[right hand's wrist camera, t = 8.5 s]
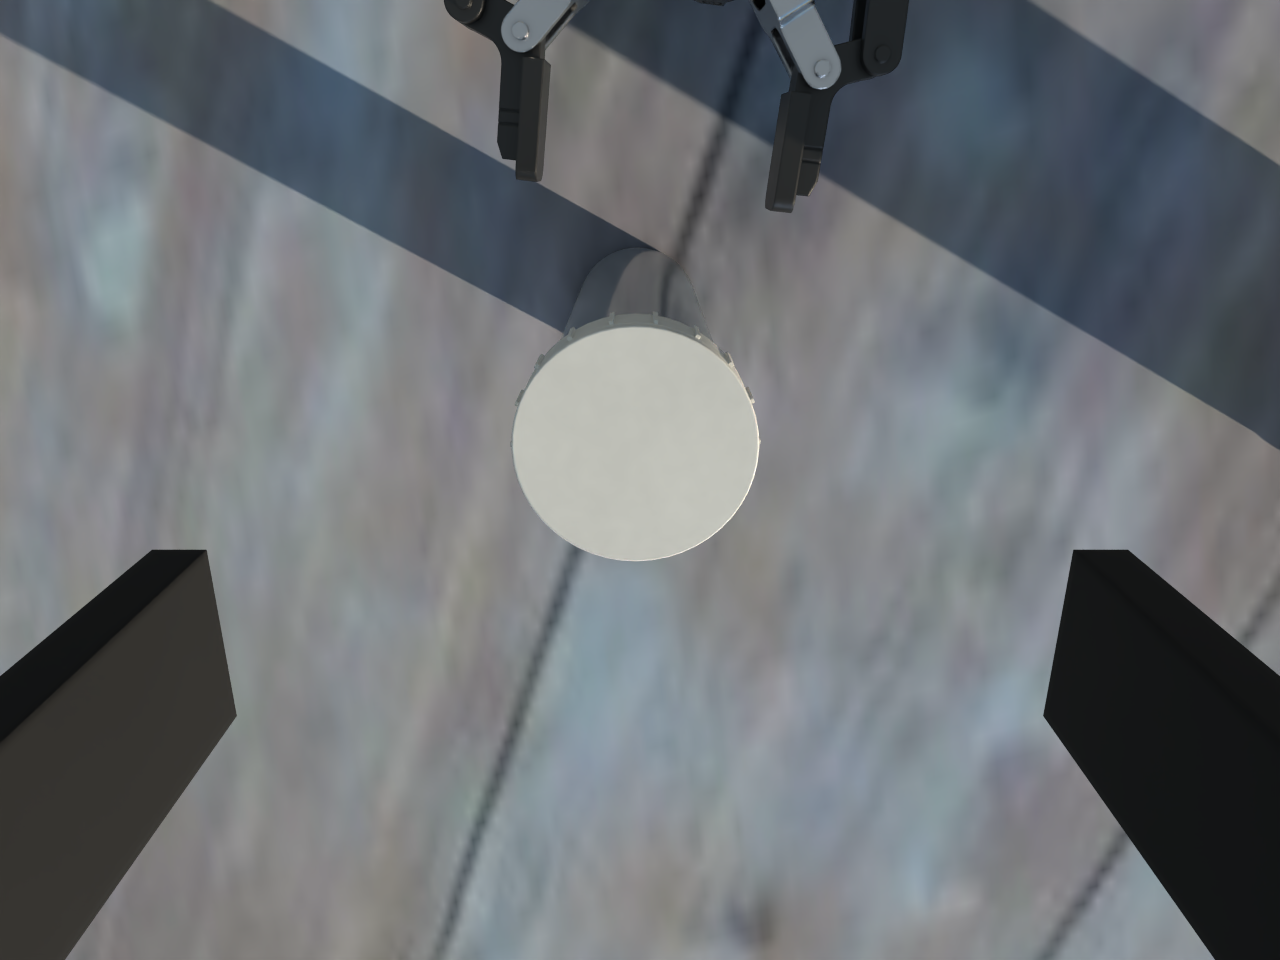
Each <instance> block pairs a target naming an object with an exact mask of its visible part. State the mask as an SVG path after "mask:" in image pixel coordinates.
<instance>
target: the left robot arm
mask: <svg viewBox="0 0 1280 960" xmlns="http://www.w3.org/2000/svg"><path fill="white" fill-rule="evenodd" d="M589 1H590V0H518V2H517V3H516V4H515V5H513V4H511V3H510V2H508V1H506V0H444V4H445V7H446V10H447V11H448V13H449V14H450V15H451V16H452V17H453V18H454V19H456V20H457V21H458V22H460V23H461V24H463V25H464V26H466V27H467V28H468V29H470V30H473V31H475V32H477V33H479V34H480V35H482V36H484V37H486V38H488V39H490V40H492V41H493V42H494V43H495V44H496V46H497V48H498V50H499V52H500V55H501V63H502V65H501V83H500V101H499V119H498V122H499V123H498V137H497V143H498V146H499V149H500V152H501V156H502V159H509V160H516V179H517V180H525V181H534V182H539V181H541V180H542V175H543V165H544V151H545V137H546V124H547V110H548V96H549V82H550V68H551V65H550V64H549V63H548V62H547V61H546V60H545V50H546V49H547V48H548V46H549V45H550V44H551V43H552V42H553V40H554V39H555V38H556V37H557V36H558V34H559V33H560V32H561V31H562V30H563V28H564V27H565V26H566V25H567V24H568V22H569V21H570V20H571V19H572V18H573V16H574V15H575V14H576V13H577V12H579V11H580V10H581V9H582V8H583V7H584V6H585V5H586V4H587V3H588V2H589ZM694 1H697V2H699V3H703V4H711V5H719V6H724V4H725V2H731V1H734V0H694ZM749 2H750V4H751V6H752V8H753V10H754V12H755V14H756V16H757V18H758V20H759V22H760V24H761V26H762V28H763V30H764V31H765V33H766V34H767V35H768V36H769V38H770V39H771V41H772V43H773V45H774V47H775V49H776V51H777V53H778V55H779V57H780V59H781V61H782V63H783V65H784V67H785V69H786V71H787V73H788V75H789V77H790V79H791V81H790V88H789V92H787V93H784V94H782V95H781V100H780V107H779V113H778V120H777V126H776V133H775V139H774V146H773V152H772V159H771V165H770V172H769V178H768V185H767V191H766V199H765V208H766V209H768V210H770V211H778V212H786V213H791V212H792V210H793V207H794V203H795V198H796V195H802V196H809V195H810V194H811V192H812V190H813V188H814V187H815V185H816V183H817V181H818V175H819V170H820V162H821V158H822V152H823V146H824V140H825V135H826V129H827V123H828V117H829V111H830V106H831V102H832V99H833V97H834V95H835V94H836V93H837V91H838V90H839V89H840V88H842V87H843V86H845V85H847V84H850V83H854V82H858V81H862V80H868V79H872V78H874V77H876V76H881V75H885V74H888V73H890V72H891V71H893V70H894V69H895V68H896V67H897V65H898V64H899V62H900V59H901V55H902V48H903V40H904V33H905V26H906V19H907V11H908V4H909V0H854V3H853V11H852V20H851V28H850V37H849V42H845V43H842V44H838V45H834V46H833V43H832V41H831V39H830V37H829V35H828V33H827V31H826V29H825V27H824V24H823V22H822V20H821V18H820V16H819V14H818V12H817V9H816V7H815V2H814V0H749Z"/></svg>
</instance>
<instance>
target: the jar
mask: <svg viewBox="0 0 1280 960" xmlns="http://www.w3.org/2000/svg"><path fill="white" fill-rule="evenodd" d="M612 312H614V313H615V315H622V314H650V315H653V312H658V316H661V317H666V318H669V319H672V320H675V321H678V322H681V323H683V324H685V325H687V326H689V327H691V328H693V326H694V325H695V326H697V327H698V329H699V332H700V333H701V334H703V335H704V336H706V337H707V338H708V339H710V340H711V341H712V342H713V340H712V337H711V335H710V332H709V329H708V327H707V324H706V321H705V319H704V316H703V313H702V311H701V308H700V305H699V303H698V300H697V297H696V295H695V292H694V289H693V287H692V284H691V282H690V280H689V278H688V276H687V275H686V273H685V272H684V270H683V269H682V268H681V267H680V266H679V264H677V263H676V262H675V261H674V260H673V259H671V258H670V257H668V256H667V255H665V254H663V253H661V252H659V251H656V250H653V249H648V248H639V247H635V248H626V249H622V250H619V251H616V252H613V253H611V254H609V255H607V256H606V257H604V258H603V259H602V260H600V261H599V262H598V263H597V264H596V265H595V266H594V267H593V268H592V269H591V271H590V272H589V274H588V275H587V277H586V278H585V281H584V283H583V285H582V287H581V290H580V292H579V295H578V297H577V300H576V302H575V305H574V307H573V310H572V312H571V314H570V317H569V319H568V322H567V324H566V327H565V329H564V332H563V334H562V337H561V339H562V338H564V337H565V336H567V335H568V333H569V331H570V329H571V328H572V327H574V328H575V329H578V328H580V327H582V326H584V325H586V324H587V323H590V322H593V321H596V320H599V319H601V318H605V317H609V316H610V313H612ZM561 339H560V340H561Z"/></svg>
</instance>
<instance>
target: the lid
mask: <svg viewBox="0 0 1280 960" xmlns="http://www.w3.org/2000/svg"><path fill="white" fill-rule="evenodd" d="M534 368H535V370H534V372H533V373H532V375H531V377H530V380H529V382H528V384H527V386H526V388H525V390H521V392H520V394H519V396H518V398H517V401H516V403H515V406H518V407H517V410H516V414H515V417H514V422H513V429H512V440H511V443H510V445H511V447H512V457H513V464H514V469H515V472H516V476H517V479H518V482H519V484H520V487H521V489H522V491H523V494H524V496H525V497H526V499H527V501H528V502H529V504H530V506H531V507H532V509H533V510H534V511H535V513H536V514H537V515H538V516H539V518H540V519H541V520H542V521H543V522H544V523H545V524H546V525H547V526H548V527H549V528H550V529H551V530H552V531H554V532H555V533H556V534H558V535H559V536H560V537H561V538H563V539H564V540H566V541H567V542H569V543H571V544H573V545H574V546H576V547H578V548H580V549H582V550H585V551H587V552H589V553H592V554H595V555H599V556H602V557H605V558H611V559H617V560H625V561H645V560H655V559H660V558H665V557H669V556H672V555H675V554H679V553H682V552H684V551H686V550H688V549H691V548H693V547H695V546H697V545H698V544H700V543H702V542H703V541H705V540H706V539H708V538H710V537H711V536H712V535H713V534H715V533H716V532H717V531H718V530H720V529H721V528H722V527H723V526H724V525H725V524H726V523H727V522H728V521H729V520H730V519H731V517H732V516H733V515H734V514H735V512H736V511H737V509H738V508H739V507H740V505H741V504H742V502H743V500H744V498H745V497H746V495H747V493H748V491H749V489H750V486H751V483H752V481H753V478H754V475H755V471H756V467H757V462H758V453H759V444H760V438H759V432H758V426H757V420H756V415H755V412H754V409H753V406H752V403H755V402H754V399H753V396H752V394H751V392H750V390H749V388H748V387H746V388H745V386H744V384H743V382H742V380H741V378H740V376H739V374H738V372H737V370H736V369H735V367H734V363H733V361H732V359H731V356H730V354H729V353H728V352H726V353H725V354H724V353H723V352H722V350H721V349H720V348H719V347H718V346H717V345H715V344H714V343H713V342H712V341H711V340H710V339H708V338H707V337H706V336H704V335H703V334H701V333H700V332H699V329H698V327H697V326H695V325H694V326H693V328H691V327H689V326H687V325H685V324H683V323H681V322H678V321H675V320H672V319H669V318H666V317H661V316H658V312H653V315H650V314H622V315H615V313H614V312H612V313H610V316H609V317H605V318H601V319H599V320H596V321H593V322H590V323H587V324H586V325H584V326H582V327H580V328H578V329H575V328H574V327H572V328H571V329H570V331H569V333H568V335H567V336H565V337H564V338H562V339H561V340H560V341H559V342H558V343H557V344H555V345H554V346H553V347H552V348H551V349H550V350H549V351H548V352H547V354H546V355H545V356H544V355H542V354H541V355H540V356H539V358H538V360H537V362H536V365H535V367H534Z"/></svg>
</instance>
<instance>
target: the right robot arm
mask: <svg viewBox="0 0 1280 960" xmlns="http://www.w3.org/2000/svg"><path fill="white" fill-rule="evenodd" d="M236 716H237V715H236V709H235V704H234V698H233V693H232V687H231V682H230V676H229V671H228V665H227V660H226V654H225V649H224V643H223V638H222V632H221V627H220V621H219V616H218V610H217V605H216V599H215V594H214V588H213V583H212V577H211V572H210V566H209V561H208V555H207V550H151V551H150V552H149V553H148V554H146V555H145V556H144V557H143V558H142V559H140V560H139V561H138V562H137V563H136V564H134V565H133V566H132V567H131V568H130V569H128V570H127V571H126V572H125V573H124V574H122V575H121V576H120V577H119V578H118V579H116V580H115V581H114V582H113V583H112V584H110V585H109V586H108V587H107V588H106V589H104V590H103V591H102V592H101V593H100V594H98V595H97V596H96V597H95V598H94V599H92V600H91V601H90V602H89V603H88V604H86V605H85V606H84V607H83V608H82V609H80V610H79V611H78V612H77V613H76V614H74V615H73V616H72V617H71V618H70V619H68V620H67V621H66V622H65V623H64V624H62V625H61V626H60V627H59V628H58V629H56V630H55V631H54V632H53V633H52V634H50V635H49V636H48V637H47V638H46V639H44V640H43V641H42V642H41V643H40V644H38V645H37V646H36V647H35V648H34V649H32V650H31V651H30V652H29V653H28V654H26V655H25V656H24V657H23V658H22V659H20V660H19V661H18V662H17V663H16V664H14V665H13V666H12V667H11V668H10V669H8V670H7V671H6V672H5V673H4V674H2V675H1V676H0V960H65V959H66V957H67V956H68V955H69V953H70V952H71V950H72V949H73V947H74V946H75V945H76V943H77V942H78V940H79V939H80V938H81V936H82V935H83V933H84V932H85V930H86V929H87V928H88V926H89V925H90V923H91V922H92V921H93V919H94V918H95V916H96V915H97V913H98V912H99V911H100V909H101V908H102V906H103V905H104V903H105V902H106V901H107V899H108V898H109V896H110V895H111V894H112V892H113V891H114V889H115V888H116V886H117V885H118V884H119V882H120V881H121V879H122V878H123V877H124V875H125V874H126V872H127V871H128V869H129V868H130V867H131V865H132V864H133V862H134V861H135V859H136V858H137V857H138V855H139V854H140V852H141V851H142V850H143V848H144V847H145V845H146V844H147V842H148V841H149V840H150V838H151V837H152V835H153V834H154V833H155V831H156V830H157V828H158V827H159V825H160V824H161V823H162V821H163V820H164V818H165V817H166V816H167V814H168V813H169V811H170V810H171V808H172V807H173V806H174V804H175V803H176V801H177V800H178V798H179V797H180V796H181V794H182V793H183V791H184V790H185V789H186V787H187V786H188V784H189V783H190V781H191V780H192V779H193V777H194V776H195V774H196V773H197V772H198V770H199V769H200V767H201V766H202V764H203V763H204V762H205V760H206V759H207V757H208V756H209V754H210V753H211V752H212V750H213V749H214V747H215V746H216V745H217V743H218V742H219V740H220V739H221V737H222V736H223V735H224V733H225V732H226V730H227V729H228V728H229V726H230V725H231V723H232V722H233V720H234V719H235V718H236ZM1043 716H1044V718H1045V719H1046V720H1047V722H1048V723H1049V725H1050V726H1051V728H1052V729H1053V730H1054V732H1055V733H1056V735H1057V736H1058V737H1059V739H1060V740H1061V742H1062V743H1063V745H1064V746H1065V747H1066V749H1067V750H1068V752H1069V753H1070V754H1071V756H1072V757H1073V759H1074V760H1075V762H1076V763H1077V764H1078V766H1079V767H1080V769H1081V770H1082V772H1083V773H1084V774H1085V776H1086V777H1087V779H1088V780H1089V781H1090V783H1091V784H1092V786H1093V787H1094V789H1095V790H1096V791H1097V793H1098V794H1099V796H1100V797H1101V798H1102V800H1103V801H1104V803H1105V804H1106V806H1107V807H1108V808H1109V810H1110V811H1111V813H1112V814H1113V816H1114V817H1115V818H1116V820H1117V821H1118V823H1119V824H1120V825H1121V827H1122V828H1123V830H1124V831H1125V833H1126V834H1127V835H1128V837H1129V838H1130V840H1131V841H1132V842H1133V844H1134V845H1135V847H1136V848H1137V850H1138V851H1139V852H1140V854H1141V855H1142V857H1143V858H1144V859H1145V861H1146V862H1147V864H1148V865H1149V867H1150V868H1151V869H1152V871H1153V872H1154V874H1155V875H1156V877H1157V878H1158V879H1159V881H1160V882H1161V884H1162V885H1163V886H1164V888H1165V889H1166V891H1167V892H1168V894H1169V895H1170V896H1171V898H1172V899H1173V901H1174V902H1175V903H1176V905H1177V906H1178V908H1179V909H1180V911H1181V912H1182V913H1183V915H1184V916H1185V918H1186V919H1187V921H1188V922H1189V923H1190V925H1191V926H1192V928H1193V929H1194V930H1195V932H1196V933H1197V935H1198V936H1199V938H1200V939H1201V940H1202V942H1203V943H1204V945H1205V946H1206V947H1207V949H1208V950H1209V952H1210V953H1211V955H1212V956H1213V957H1214V959H1215V960H1280V676H1279V675H1278V674H1276V673H1275V672H1274V671H1273V670H1272V669H1270V668H1269V667H1268V666H1267V665H1266V664H1264V663H1263V662H1262V661H1261V660H1260V659H1258V658H1257V657H1256V656H1255V655H1254V654H1252V653H1251V652H1250V651H1249V650H1248V649H1246V648H1245V647H1244V646H1243V645H1242V644H1240V643H1239V642H1238V641H1237V640H1236V639H1234V638H1233V637H1232V636H1231V635H1230V634H1228V633H1227V632H1226V631H1225V630H1224V629H1222V628H1221V627H1220V626H1219V625H1218V624H1216V623H1215V622H1214V621H1213V620H1212V619H1210V618H1209V617H1208V616H1207V615H1206V614H1204V613H1203V612H1202V611H1201V610H1200V609H1198V608H1197V607H1196V606H1195V605H1194V604H1192V603H1191V602H1190V601H1189V600H1188V599H1186V598H1185V597H1184V596H1183V595H1182V594H1180V593H1179V592H1178V591H1177V590H1176V589H1174V588H1173V587H1172V586H1171V585H1170V584H1168V583H1167V582H1166V581H1165V580H1164V579H1162V578H1161V577H1160V576H1159V575H1158V574H1156V573H1155V572H1154V571H1153V570H1152V569H1150V568H1149V567H1148V566H1147V565H1146V564H1144V563H1143V562H1142V561H1141V560H1140V559H1138V558H1137V557H1136V556H1135V555H1134V554H1132V553H1131V552H1130V551H1129V550H1073V555H1072V561H1071V566H1070V572H1069V577H1068V583H1067V588H1066V594H1065V599H1064V605H1063V610H1062V616H1061V621H1060V627H1059V632H1058V638H1057V643H1056V649H1055V654H1054V660H1053V665H1052V671H1051V676H1050V682H1049V687H1048V693H1047V698H1046V704H1045V709H1044V715H1043Z"/></svg>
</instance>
